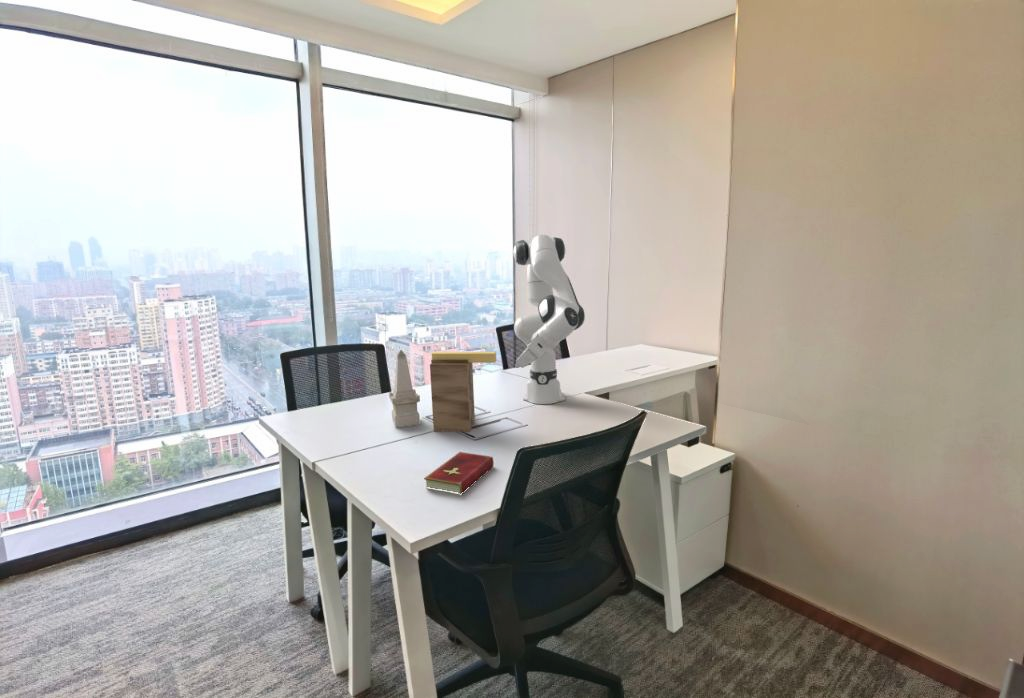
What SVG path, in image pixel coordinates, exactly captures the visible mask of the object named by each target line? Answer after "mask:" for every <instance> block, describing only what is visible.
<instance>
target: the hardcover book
mask: <svg viewBox="0 0 1024 698" xmlns="http://www.w3.org/2000/svg"><path fill="white" fill-rule="evenodd" d="M492 467H493V468H494V457H493V456H490V455H484V454H477V453H471V452H465V451H459V452H457V454H455V455H453V456H452V457H450V458H449V459H448V460H446V461H445V462H444V463H442V464H441V465H440V466H439V467H437V468H436V469H434V470H433V471H432V472H430V473H429V474H428V475H426V476H425V477H424V478H423V480H425V483H426V486H425V487H426V488H427V487H430V488H435V489H442V490H447V491H453V492H458V493H460V494H461V493H462V492H464V491H465V490H466V489H467V488H468V487H470V486H471V485H472V484H473V483H474V482H475V481H477V480H478V479H479V478H480V477H481V476H483V475H484V474H485V473H486V472H487V471H488V472H490V470H491V468H492ZM488 472H487V473H488ZM487 473H486V474H487ZM486 474H485V475H486ZM485 475H484V476H485ZM484 476H483V477H484ZM481 478H482V477H481ZM481 478H480V479H481ZM480 479H479V480H480ZM479 480H478V481H479ZM478 481H477V482H478ZM472 486H473V485H472ZM472 486H471V487H472ZM471 487H470V488H471Z"/></svg>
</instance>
